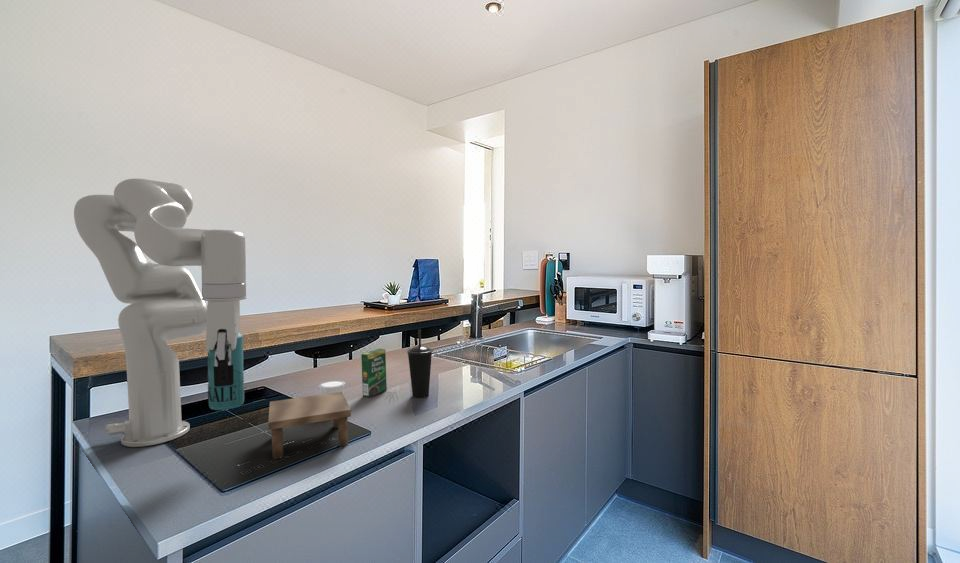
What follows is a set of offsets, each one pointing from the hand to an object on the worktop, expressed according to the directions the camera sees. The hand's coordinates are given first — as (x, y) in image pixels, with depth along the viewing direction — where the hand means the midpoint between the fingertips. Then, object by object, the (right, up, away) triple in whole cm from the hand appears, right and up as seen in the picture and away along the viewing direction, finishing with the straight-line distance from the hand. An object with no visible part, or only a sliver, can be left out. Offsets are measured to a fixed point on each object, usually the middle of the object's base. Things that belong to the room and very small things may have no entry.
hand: (226, 379), depth 84 cm
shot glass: (+11, -15, +30) cm, 35 cm away
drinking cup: (+34, -15, +41) cm, 55 cm away
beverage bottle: (0, -7, 0) cm, 7 cm away
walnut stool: (+13, -16, +10) cm, 23 cm away
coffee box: (+19, -15, +43) cm, 49 cm away
